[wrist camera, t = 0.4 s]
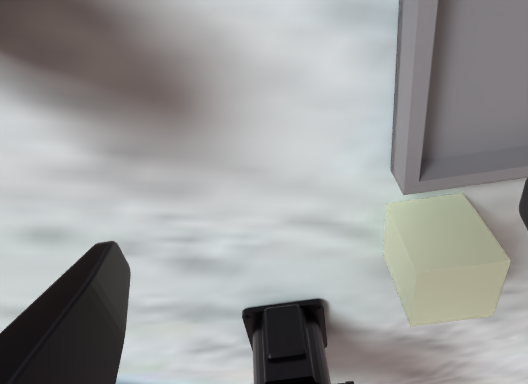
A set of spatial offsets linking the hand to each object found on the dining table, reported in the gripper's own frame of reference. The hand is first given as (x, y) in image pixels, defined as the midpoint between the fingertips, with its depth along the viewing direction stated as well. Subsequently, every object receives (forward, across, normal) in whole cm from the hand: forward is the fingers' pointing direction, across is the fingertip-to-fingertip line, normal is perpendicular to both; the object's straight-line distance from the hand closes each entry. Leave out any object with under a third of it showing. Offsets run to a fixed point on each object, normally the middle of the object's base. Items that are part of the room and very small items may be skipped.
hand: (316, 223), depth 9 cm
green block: (+14, -8, +14) cm, 22 cm away
